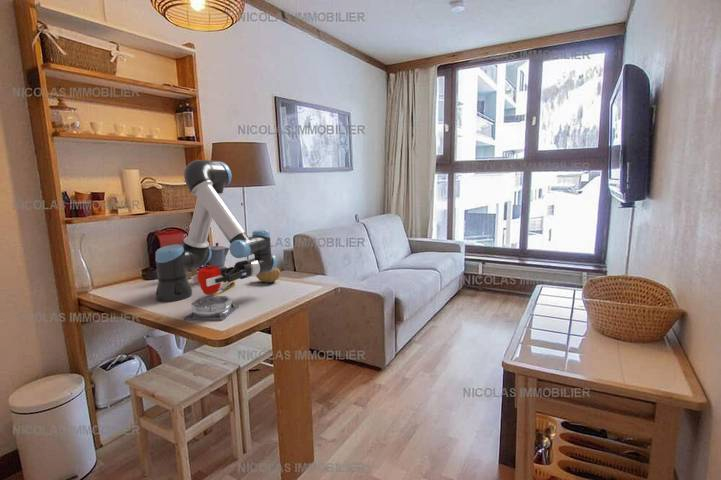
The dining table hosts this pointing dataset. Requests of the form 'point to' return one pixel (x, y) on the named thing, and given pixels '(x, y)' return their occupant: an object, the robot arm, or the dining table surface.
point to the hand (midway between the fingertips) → (199, 281)
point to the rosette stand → (212, 308)
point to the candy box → (224, 287)
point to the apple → (206, 274)
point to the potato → (269, 276)
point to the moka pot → (218, 256)
